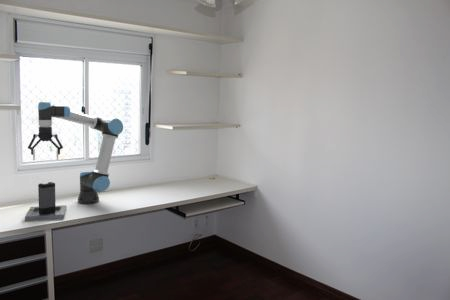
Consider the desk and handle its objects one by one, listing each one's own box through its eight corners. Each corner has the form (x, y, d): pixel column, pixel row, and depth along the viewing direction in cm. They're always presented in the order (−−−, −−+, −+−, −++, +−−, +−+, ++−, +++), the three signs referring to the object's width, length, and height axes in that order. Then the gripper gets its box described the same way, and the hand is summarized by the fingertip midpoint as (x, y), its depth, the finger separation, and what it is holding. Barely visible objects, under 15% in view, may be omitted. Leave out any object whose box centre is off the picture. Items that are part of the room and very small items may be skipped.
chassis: (66, 209, 260) (66, 204, 259) (63, 219, 239) (63, 213, 239) (30, 211, 253) (30, 205, 252) (25, 221, 232) (24, 215, 232)
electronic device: (52, 211, 251) (51, 181, 249) (56, 213, 248) (56, 183, 245) (37, 214, 244) (37, 183, 241) (42, 216, 240) (41, 185, 238)
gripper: (67, 126, 246) (67, 158, 249) (24, 125, 238) (25, 158, 241) (66, 127, 239) (66, 160, 242) (22, 126, 231) (23, 160, 234)
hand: (45, 159), depth 241 cm, fingers open, 13 cm apart
